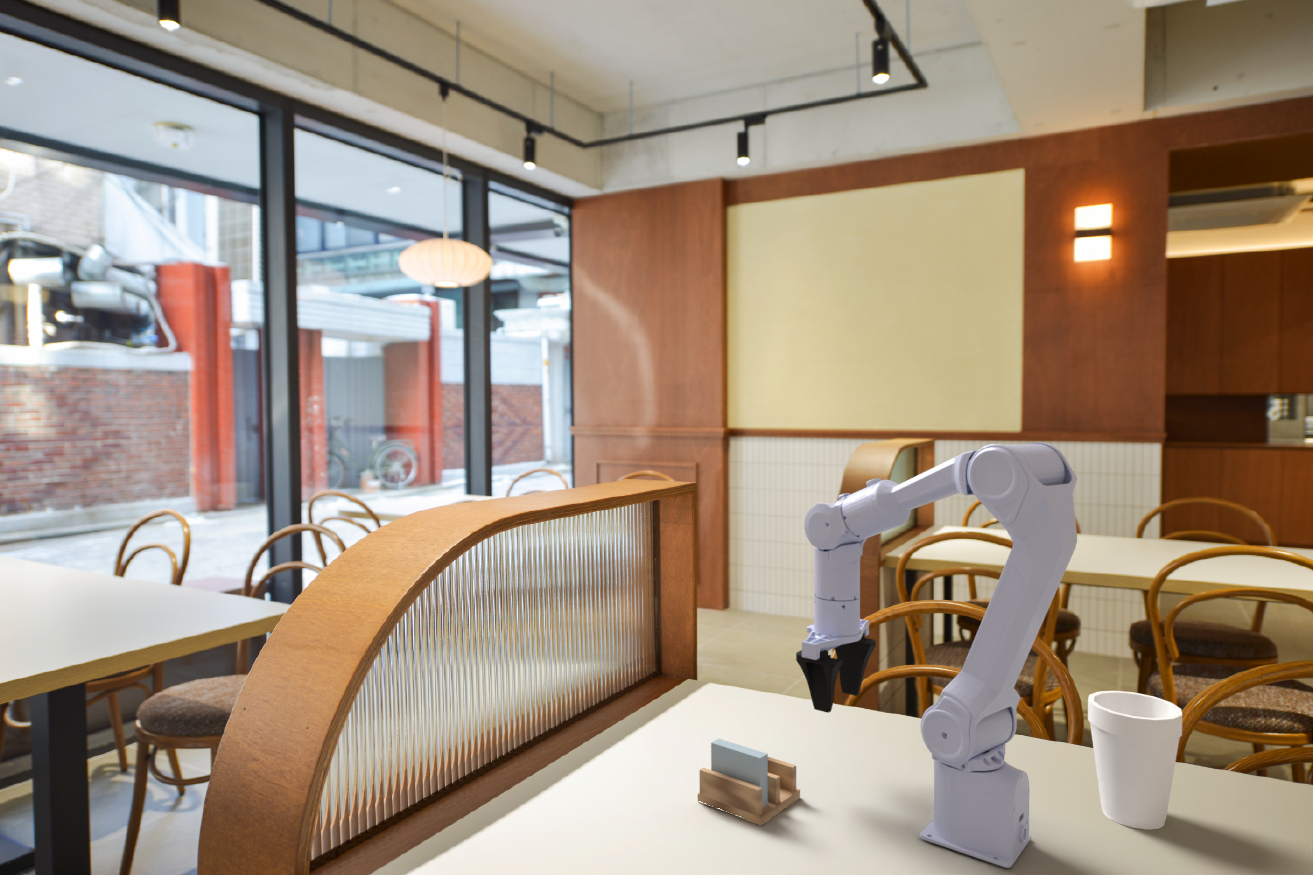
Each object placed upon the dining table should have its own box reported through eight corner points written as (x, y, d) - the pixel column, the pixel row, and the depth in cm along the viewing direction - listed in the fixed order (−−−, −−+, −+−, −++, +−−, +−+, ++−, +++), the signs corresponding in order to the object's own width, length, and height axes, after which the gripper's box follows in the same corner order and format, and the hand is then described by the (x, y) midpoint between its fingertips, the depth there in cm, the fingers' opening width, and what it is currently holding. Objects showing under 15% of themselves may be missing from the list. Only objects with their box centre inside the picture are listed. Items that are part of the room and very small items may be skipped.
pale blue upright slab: (767, 804, 94) (767, 753, 94) (760, 809, 93) (760, 758, 93) (719, 786, 99) (718, 738, 99) (711, 791, 97) (711, 742, 97)
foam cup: (1068, 804, 96) (1069, 696, 96) (1125, 791, 99) (1126, 686, 99) (1141, 843, 87) (1142, 724, 87) (1201, 827, 90) (1202, 713, 90)
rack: (800, 797, 98) (800, 764, 98) (760, 825, 91) (760, 790, 91) (738, 776, 104) (738, 745, 104) (697, 801, 97) (697, 768, 97)
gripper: (835, 582, 111) (835, 680, 111) (780, 601, 100) (780, 710, 100) (883, 589, 106) (883, 691, 106) (831, 610, 95) (831, 724, 95)
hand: (836, 701), depth 103 cm, fingers open, 7 cm apart
